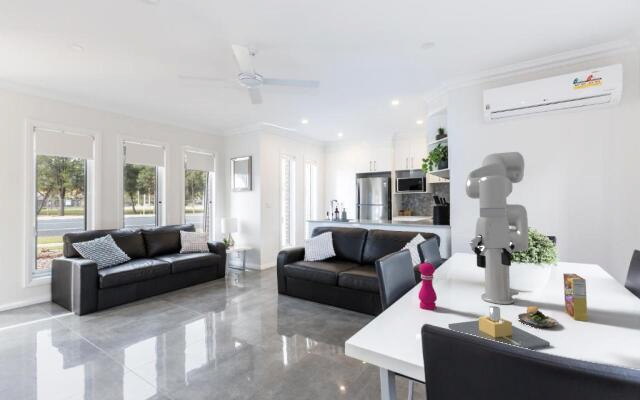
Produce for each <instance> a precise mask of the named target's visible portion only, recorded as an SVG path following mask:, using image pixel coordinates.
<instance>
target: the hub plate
mask: <svg viewBox="0 0 640 400" xmlns="http://www.w3.org/2000/svg"><path fill="white" fill-rule="evenodd" d="M488 308H489V316H490V321H492V322H494V323H496V322H499V320H500V318H501V308H500V306H494V305H490V306H489V307H488ZM448 328H449V329H450V330H452V331H453V330H455V331H459V332H463V333H468V334H472V335H476V336H479V337H483V338H487V339H491V340H495V341H499V342H503V343H507V344H511V345H515V346H519V347H523V348H528V349H530V350H536V349H541V347H542V348H547V347H546V346H549V347H550V346H551V345H550V344H551V343H550V341H548V340H546V339H543V338H541V337H539V336H537V335H534V334H532V333H530V332H528V331H525V330H523V329H521V328H519V327H517V326H515V325H512V335H510V336H503V337H493V336H491V335H489V334H487V333H485V332H483V331H481V330H479V319H478V320H471V321H470V320H469V321H463V322H454V323H448ZM455 331H454V332H455Z"/></svg>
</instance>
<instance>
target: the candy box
mask: <svg viewBox="0 0 640 400" xmlns="http://www.w3.org/2000/svg"><path fill="white" fill-rule="evenodd" d="M586 280H587V279H586V278H583V277H581V276H580V275H577V274H576V273H563V287H564V288H563V289H564V290H563V291H564V293H563V294H564V308H565V310H564V311H565V313H566V314H567V315H569V316H570V317H571V318H572V319H573V320H574V321H580V322H588V307H587V306H588V303H587V283H586V282H587V281H586Z"/></svg>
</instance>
